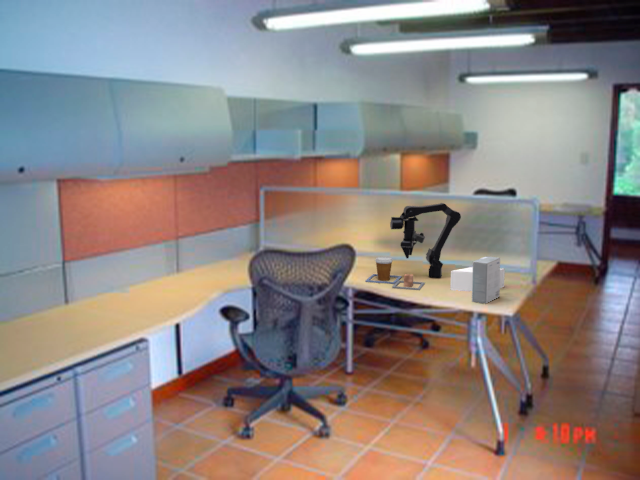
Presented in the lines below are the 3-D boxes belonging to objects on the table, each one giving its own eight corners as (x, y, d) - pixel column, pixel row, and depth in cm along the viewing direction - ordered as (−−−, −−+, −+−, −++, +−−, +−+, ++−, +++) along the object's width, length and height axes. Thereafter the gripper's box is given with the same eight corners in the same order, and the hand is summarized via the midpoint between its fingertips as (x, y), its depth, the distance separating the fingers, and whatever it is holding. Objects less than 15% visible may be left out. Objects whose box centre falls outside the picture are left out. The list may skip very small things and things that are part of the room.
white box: (509, 291, 324) (510, 271, 322) (455, 293, 320) (455, 274, 318) (498, 284, 338) (499, 265, 336) (445, 286, 334) (446, 267, 332)
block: (412, 285, 337) (413, 274, 336) (411, 287, 333) (411, 276, 332) (405, 284, 338) (405, 273, 337) (403, 286, 335) (403, 275, 334)
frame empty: (424, 283, 340) (424, 282, 340) (419, 290, 327) (419, 288, 327) (398, 281, 345) (398, 280, 345) (392, 288, 332) (392, 286, 331)
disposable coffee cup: (373, 281, 347) (373, 259, 345) (377, 277, 356) (377, 256, 354) (390, 282, 345) (390, 260, 342) (393, 278, 354) (394, 257, 351)
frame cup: (401, 277, 355) (401, 275, 355) (394, 284, 340) (394, 282, 340) (373, 275, 361) (373, 273, 361) (365, 281, 346) (365, 280, 345)
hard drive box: (485, 295, 316) (486, 255, 313) (499, 297, 312) (501, 257, 308) (471, 301, 305) (472, 261, 301) (485, 304, 300) (487, 263, 296)
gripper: (421, 232, 338) (420, 260, 341) (426, 227, 356) (426, 254, 358) (400, 231, 342) (400, 259, 344) (407, 226, 359) (406, 253, 362)
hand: (409, 256), depth 352 cm, fingers open, 9 cm apart
